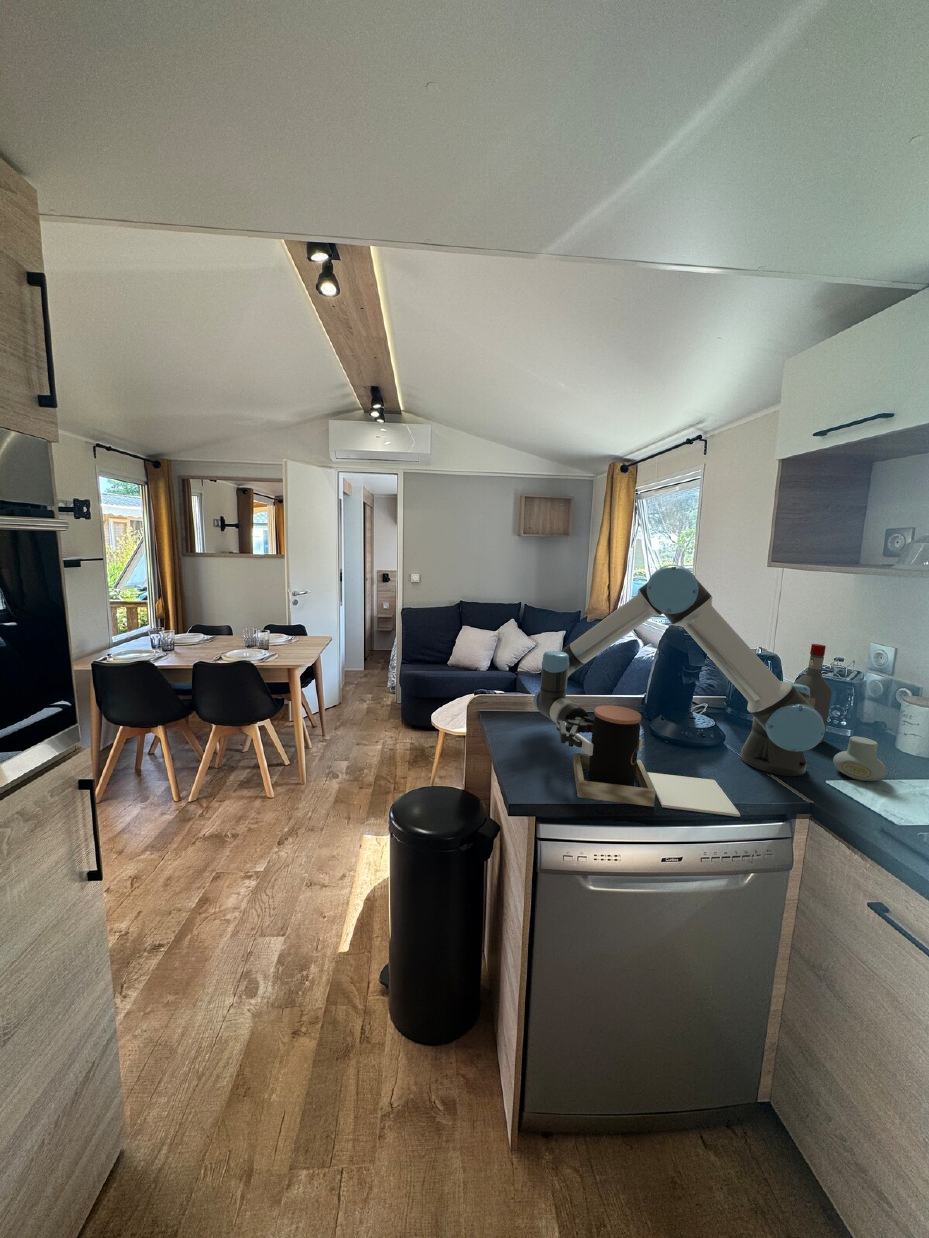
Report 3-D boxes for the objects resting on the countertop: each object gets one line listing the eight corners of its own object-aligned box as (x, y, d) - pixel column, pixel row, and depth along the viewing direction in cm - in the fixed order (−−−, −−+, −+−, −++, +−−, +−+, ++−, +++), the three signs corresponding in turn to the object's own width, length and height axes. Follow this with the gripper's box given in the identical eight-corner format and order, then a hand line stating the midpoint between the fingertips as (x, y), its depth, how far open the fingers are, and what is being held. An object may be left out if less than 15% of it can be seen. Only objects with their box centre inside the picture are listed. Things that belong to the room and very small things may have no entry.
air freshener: (886, 779, 127) (893, 743, 126) (881, 789, 122) (888, 751, 120) (835, 764, 135) (841, 730, 134) (828, 772, 130) (834, 737, 128)
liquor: (804, 732, 160) (819, 642, 155) (828, 743, 151) (845, 648, 146) (779, 732, 159) (793, 641, 154) (802, 743, 150) (818, 647, 145)
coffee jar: (636, 798, 110) (645, 722, 108) (588, 791, 112) (595, 717, 110) (630, 777, 121) (638, 707, 118) (586, 771, 123) (592, 702, 120)
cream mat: (714, 782, 121) (714, 779, 120) (739, 816, 105) (740, 814, 105) (646, 774, 123) (647, 772, 123) (662, 807, 107) (662, 804, 107)
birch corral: (639, 773, 123) (640, 760, 123) (653, 806, 107) (655, 791, 107) (573, 765, 126) (574, 752, 125) (577, 797, 110) (579, 782, 109)
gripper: (606, 726, 138) (658, 757, 119) (527, 732, 130) (568, 767, 110) (609, 700, 137) (661, 728, 117) (529, 705, 129) (571, 736, 109)
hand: (616, 747), depth 114 cm, fingers open, 13 cm apart
